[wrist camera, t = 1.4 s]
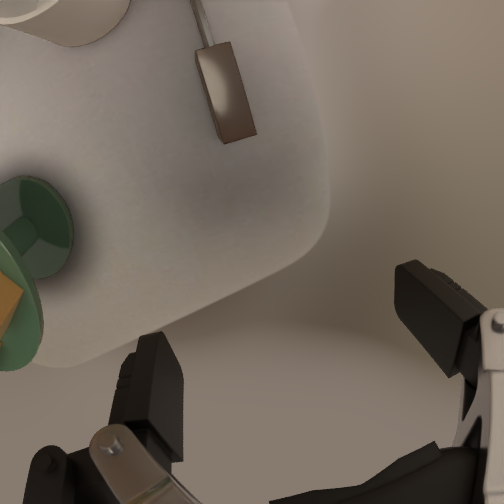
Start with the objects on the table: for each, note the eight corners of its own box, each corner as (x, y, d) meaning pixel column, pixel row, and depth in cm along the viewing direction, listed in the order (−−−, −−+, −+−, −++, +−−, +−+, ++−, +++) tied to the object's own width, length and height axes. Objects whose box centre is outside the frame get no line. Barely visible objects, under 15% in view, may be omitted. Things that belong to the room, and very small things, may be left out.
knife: (247, 130, 24) (257, 134, 21) (219, 138, 24) (223, 144, 21) (199, -29, 17) (200, -49, 14) (170, -21, 17) (167, -40, 14)
